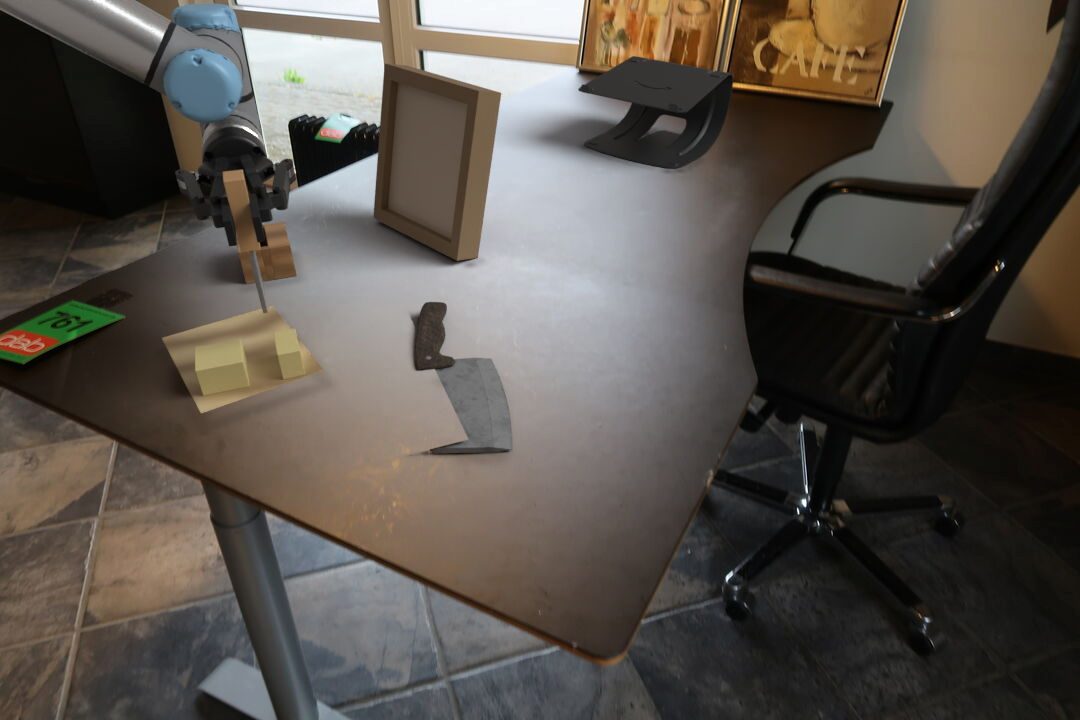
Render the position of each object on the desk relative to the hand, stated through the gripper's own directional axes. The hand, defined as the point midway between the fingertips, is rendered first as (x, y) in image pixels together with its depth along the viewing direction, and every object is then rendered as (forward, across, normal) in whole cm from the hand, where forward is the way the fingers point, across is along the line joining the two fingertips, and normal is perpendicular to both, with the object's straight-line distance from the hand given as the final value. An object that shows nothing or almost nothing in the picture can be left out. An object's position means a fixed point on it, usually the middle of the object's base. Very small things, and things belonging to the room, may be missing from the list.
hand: (244, 231), depth 71 cm
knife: (-6, 0, -11) cm, 12 cm away
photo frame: (-35, -30, -20) cm, 51 cm away
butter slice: (-2, -1, -18) cm, 19 cm away
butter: (-2, +6, -19) cm, 20 cm away
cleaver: (+4, -20, -20) cm, 28 cm away
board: (-7, +4, -20) cm, 22 cm away
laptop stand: (-63, -84, -20) cm, 107 cm away
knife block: (-32, -1, -20) cm, 38 cm away
